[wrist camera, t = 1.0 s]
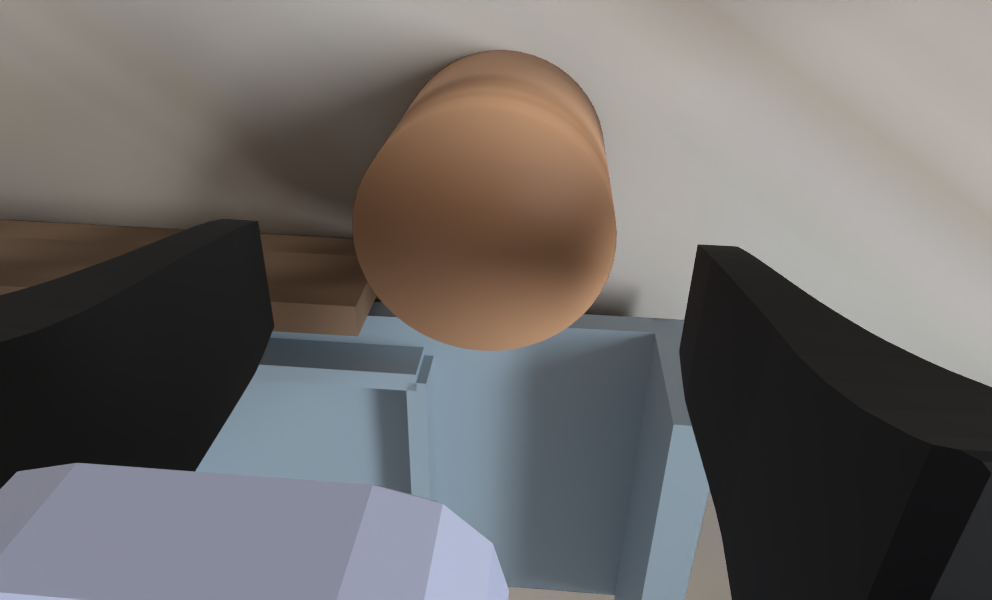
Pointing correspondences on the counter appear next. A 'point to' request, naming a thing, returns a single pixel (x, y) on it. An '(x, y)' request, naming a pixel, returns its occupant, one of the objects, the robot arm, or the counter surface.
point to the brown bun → (489, 205)
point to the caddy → (288, 259)
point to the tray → (497, 441)
